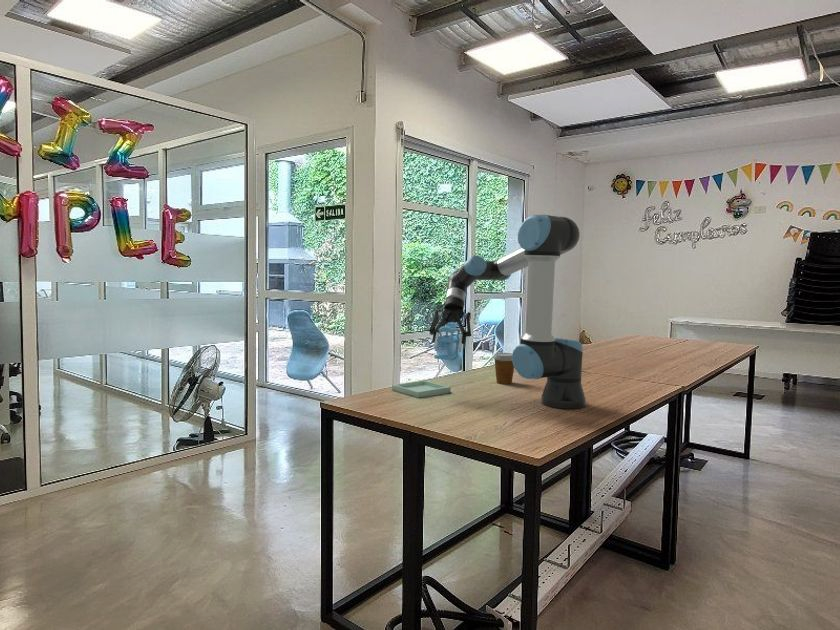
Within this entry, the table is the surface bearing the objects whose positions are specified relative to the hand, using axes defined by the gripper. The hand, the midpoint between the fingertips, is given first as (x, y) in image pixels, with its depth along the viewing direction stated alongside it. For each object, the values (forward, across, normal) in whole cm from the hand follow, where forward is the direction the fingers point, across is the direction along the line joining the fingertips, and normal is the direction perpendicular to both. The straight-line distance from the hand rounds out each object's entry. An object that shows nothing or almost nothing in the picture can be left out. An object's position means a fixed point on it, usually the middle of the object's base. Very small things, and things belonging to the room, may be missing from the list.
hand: (447, 349), depth 201 cm
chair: (0, 0, -5) cm, 5 cm away
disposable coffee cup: (-11, -19, -37) cm, 43 cm away
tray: (+7, +11, -18) cm, 23 cm away
